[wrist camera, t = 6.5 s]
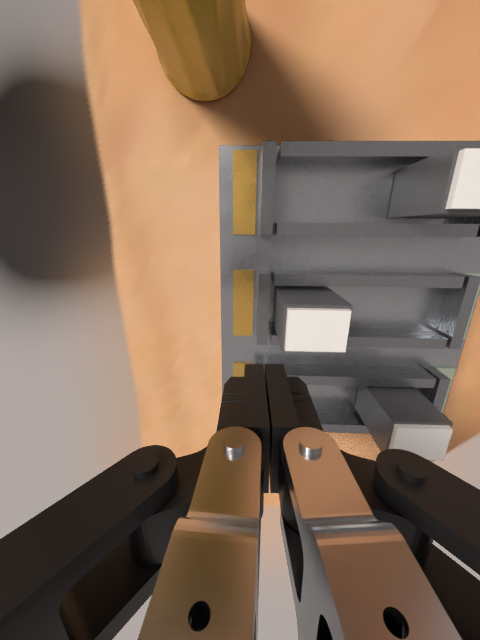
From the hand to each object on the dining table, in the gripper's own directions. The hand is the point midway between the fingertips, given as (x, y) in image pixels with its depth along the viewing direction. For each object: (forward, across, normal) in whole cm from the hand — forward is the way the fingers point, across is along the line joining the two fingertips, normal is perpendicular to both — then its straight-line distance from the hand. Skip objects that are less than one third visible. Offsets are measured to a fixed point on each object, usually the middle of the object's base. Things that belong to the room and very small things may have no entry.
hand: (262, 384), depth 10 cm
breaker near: (+11, -11, -8) cm, 18 cm away
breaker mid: (+11, -3, 0) cm, 12 cm away
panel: (+13, -7, 0) cm, 15 cm away
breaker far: (+11, -11, +8) cm, 18 cm away
